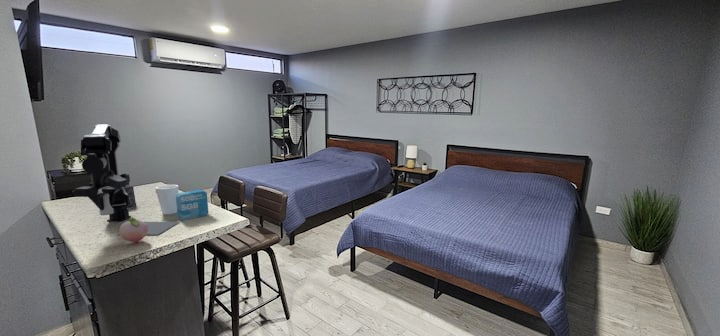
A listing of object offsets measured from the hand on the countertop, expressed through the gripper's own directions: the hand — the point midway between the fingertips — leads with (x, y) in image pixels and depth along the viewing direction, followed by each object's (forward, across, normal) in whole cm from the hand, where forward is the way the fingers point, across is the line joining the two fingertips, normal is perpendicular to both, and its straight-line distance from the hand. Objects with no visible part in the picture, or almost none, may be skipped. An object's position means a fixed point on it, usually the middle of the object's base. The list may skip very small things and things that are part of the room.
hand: (106, 208), depth 115 cm
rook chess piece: (+2, 0, 0) cm, 2 cm away
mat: (+12, +9, -9) cm, 18 cm away
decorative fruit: (+12, -5, -13) cm, 19 cm away
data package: (+12, +24, -19) cm, 33 cm away
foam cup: (+12, +30, -4) cm, 33 cm away
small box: (+12, +38, +26) cm, 47 cm away
